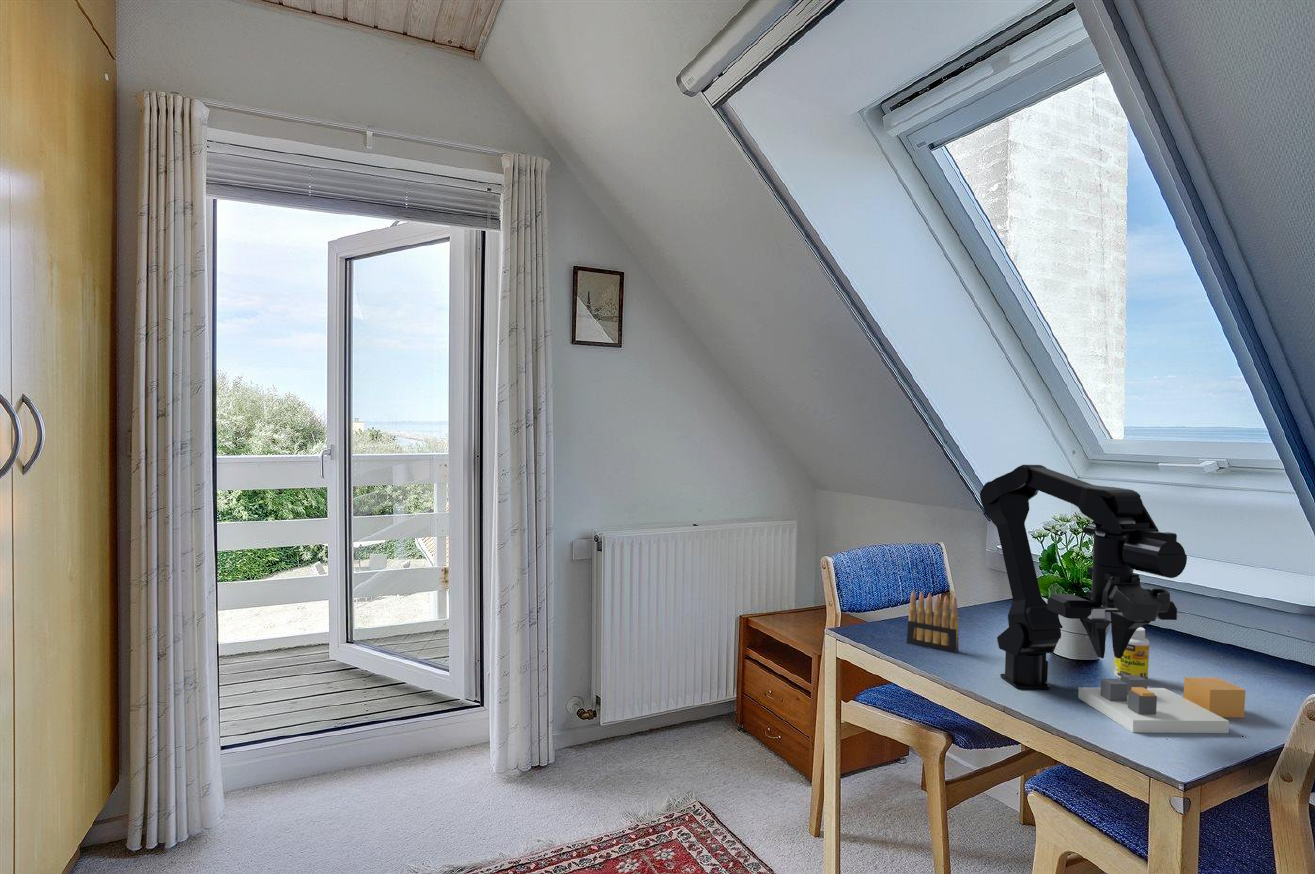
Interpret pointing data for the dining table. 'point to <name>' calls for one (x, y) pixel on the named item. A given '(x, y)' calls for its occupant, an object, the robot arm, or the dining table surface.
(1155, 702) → the block
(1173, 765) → the dining table surface
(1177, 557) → the robot arm
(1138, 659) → the supplement bottle
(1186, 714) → the board
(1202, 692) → the orange block
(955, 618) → the ammunition clip
